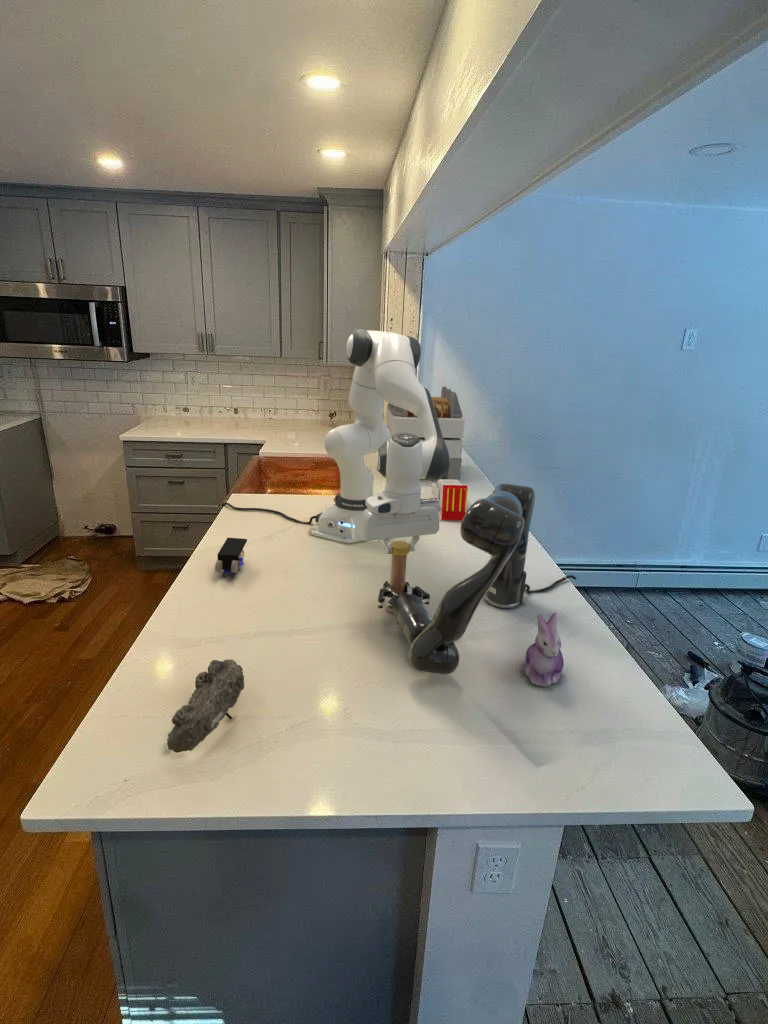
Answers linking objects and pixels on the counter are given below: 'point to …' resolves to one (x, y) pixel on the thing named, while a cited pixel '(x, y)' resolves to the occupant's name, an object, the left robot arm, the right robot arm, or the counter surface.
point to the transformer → (448, 422)
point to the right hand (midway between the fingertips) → (394, 583)
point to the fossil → (206, 705)
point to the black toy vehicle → (230, 556)
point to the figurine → (545, 653)
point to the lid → (400, 548)
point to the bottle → (398, 573)
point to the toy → (451, 498)
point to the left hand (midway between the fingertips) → (399, 552)
